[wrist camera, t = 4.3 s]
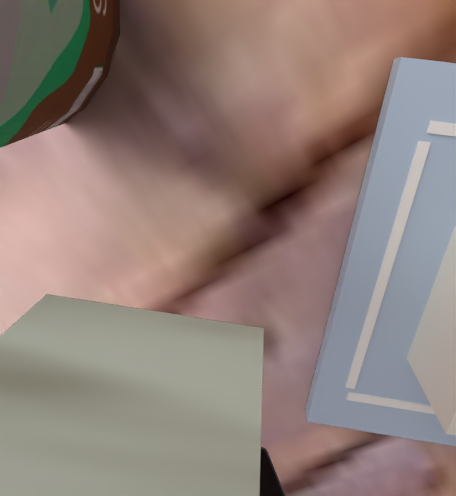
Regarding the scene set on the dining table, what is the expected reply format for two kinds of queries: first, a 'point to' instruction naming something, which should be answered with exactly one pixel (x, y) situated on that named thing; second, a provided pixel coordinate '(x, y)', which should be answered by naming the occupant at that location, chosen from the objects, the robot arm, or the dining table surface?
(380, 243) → the blueprint board
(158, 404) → the sage block
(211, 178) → the dining table surface
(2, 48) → the food container
